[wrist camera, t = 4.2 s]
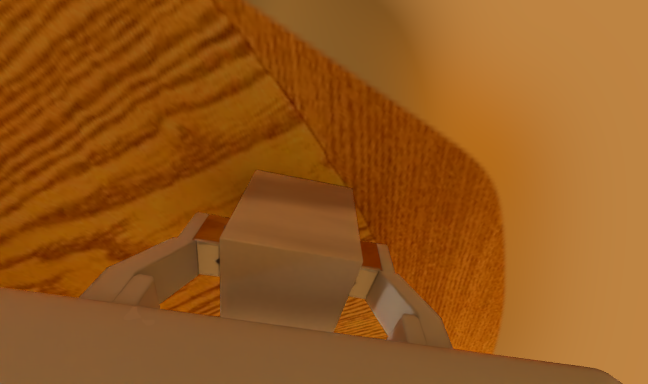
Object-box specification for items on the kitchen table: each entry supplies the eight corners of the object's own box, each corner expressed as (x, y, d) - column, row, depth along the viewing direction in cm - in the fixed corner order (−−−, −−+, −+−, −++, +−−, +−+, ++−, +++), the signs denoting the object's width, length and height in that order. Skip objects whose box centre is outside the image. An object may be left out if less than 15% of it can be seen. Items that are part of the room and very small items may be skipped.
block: (255, 169, 11) (219, 237, 7) (352, 188, 12) (363, 261, 8) (250, 241, 13) (219, 322, 10) (331, 255, 14) (331, 336, 10)
